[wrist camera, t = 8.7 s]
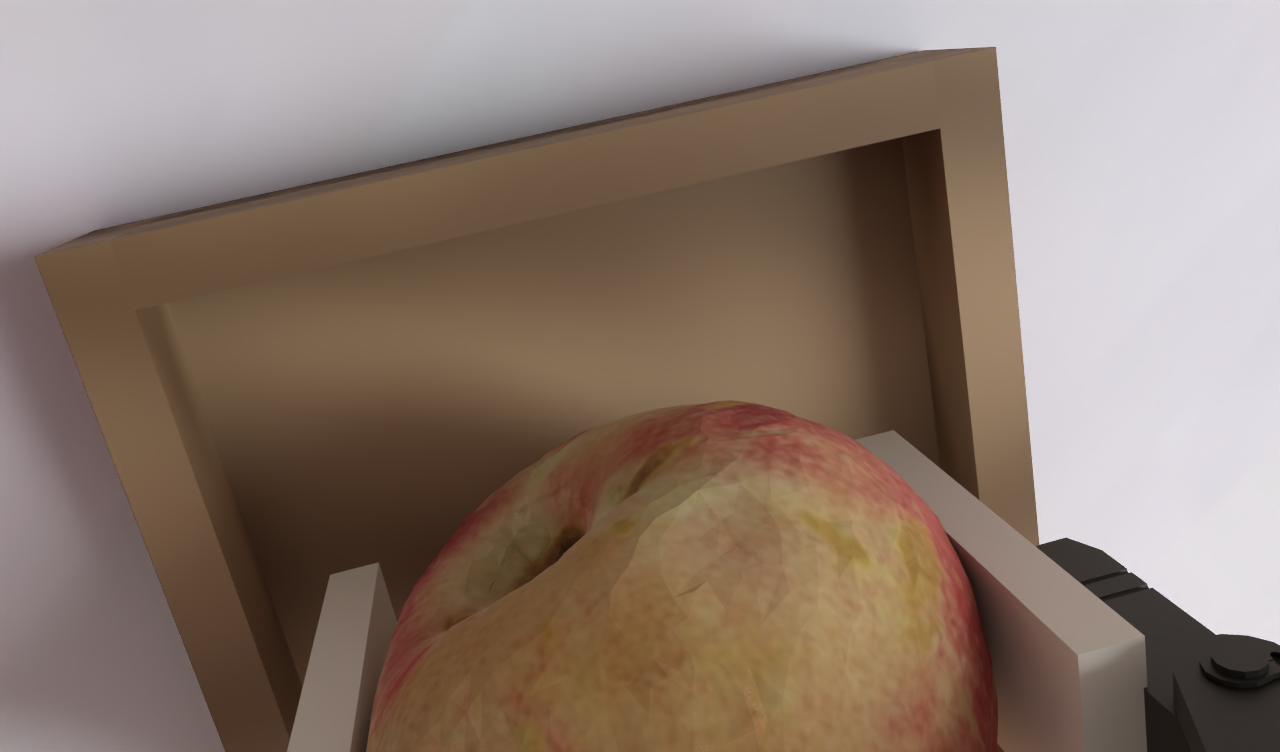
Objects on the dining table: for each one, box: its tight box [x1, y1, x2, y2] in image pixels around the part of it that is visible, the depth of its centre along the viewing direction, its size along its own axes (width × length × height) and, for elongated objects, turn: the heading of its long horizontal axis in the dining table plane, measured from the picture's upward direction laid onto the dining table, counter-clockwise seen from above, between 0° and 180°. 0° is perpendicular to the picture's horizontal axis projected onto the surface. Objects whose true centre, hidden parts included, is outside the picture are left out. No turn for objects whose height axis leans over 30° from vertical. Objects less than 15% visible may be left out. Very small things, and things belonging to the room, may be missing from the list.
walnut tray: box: [34, 47, 1039, 752], centre depth 18 cm, size 14×14×2 cm
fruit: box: [366, 400, 998, 752], centre depth 13 cm, size 8×8×8 cm
